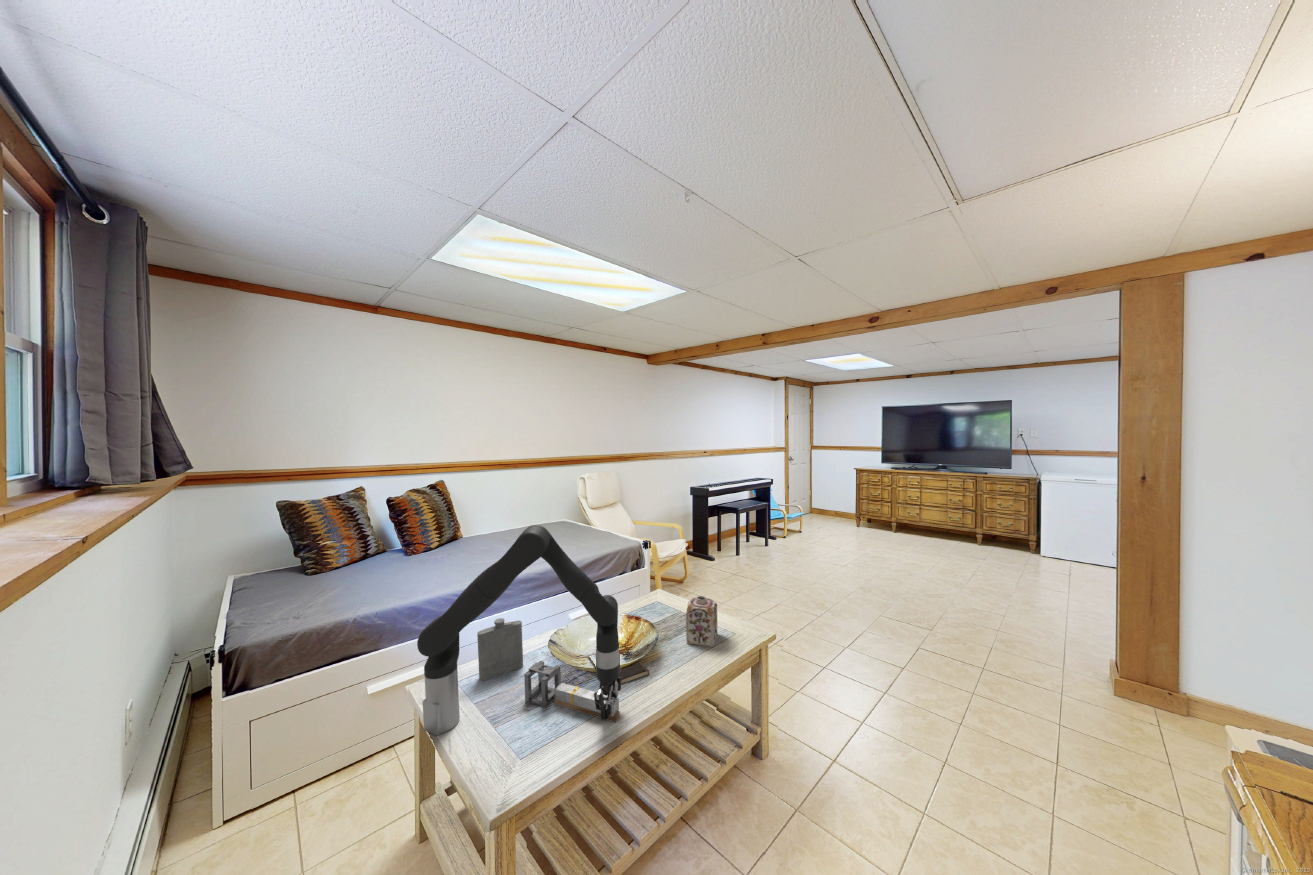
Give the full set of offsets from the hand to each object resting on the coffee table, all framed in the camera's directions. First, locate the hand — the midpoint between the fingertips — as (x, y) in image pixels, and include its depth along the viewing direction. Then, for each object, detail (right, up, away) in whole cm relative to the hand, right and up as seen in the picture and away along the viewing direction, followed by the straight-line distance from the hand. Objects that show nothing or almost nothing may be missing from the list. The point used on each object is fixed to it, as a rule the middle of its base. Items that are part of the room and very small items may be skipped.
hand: (609, 712), depth 134 cm
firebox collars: (-24, -2, +10) cm, 26 cm away
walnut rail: (-8, -1, +4) cm, 9 cm away
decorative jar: (+35, +1, +46) cm, 58 cm away
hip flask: (-44, -2, +26) cm, 51 cm away
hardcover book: (0, -1, +28) cm, 28 cm away
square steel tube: (-8, +1, +3) cm, 9 cm away
